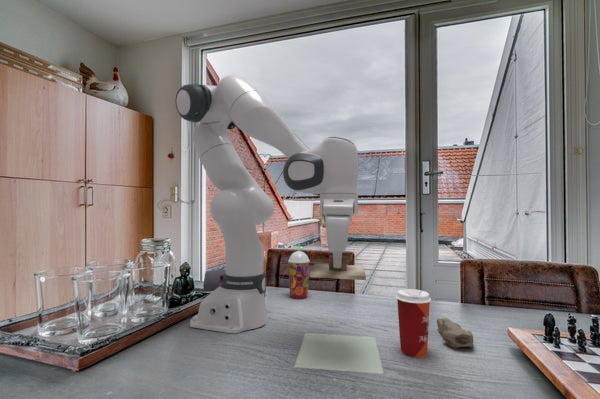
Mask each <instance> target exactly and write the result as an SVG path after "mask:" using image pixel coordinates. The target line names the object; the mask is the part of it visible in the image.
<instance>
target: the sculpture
mask: <svg viewBox="0 0 600 399" xmlns="http://www.w3.org/2000/svg"><path fill="white" fill-rule="evenodd" d="M436 326H437V329H438V331H439V333H440V334H441V338H442V340H443V341H444V342H445V343H446V344H448V346H450V347H451V348H453V349H460V348H467V347H468V348H469V349H470V348H474V336H473V333H472V331H470V330H465V329H463V328H462V326H461V325H460V324H459V323H457V322H454V321H452V320H451V319H449V318H447V317H442V318H440V317H439V318H437V319H436Z"/></svg>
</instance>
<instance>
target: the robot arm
mask: <svg viewBox="0 0 600 399" xmlns="http://www.w3.org/2000/svg"><path fill="white" fill-rule="evenodd" d="M175 108H176V110H177V113H178V115H179V116H180V117H181V118H182V119H183V120H185V121H188V122H191V123H198V124H197V125H195V126H194V128H193V129H192V132H191V133H192V134H191V138H192V142H193V145H194V148H195V151H196V154H197V156H198V159H199V161H200V163H201V165H202V167H203V169H204V171H205V173H206V174H207V177H208V179H209V180H210V182H211V183H212V185H213V186H214V187H216V188H217V189H218V190H219V192H217V193H216V194H214V196H213V197H212V199H211V201H210V214H211V216H212V219H213V220H214V221H215V222H216V223H217V225H218V227H219V229H220V231H221V234H222V238H223V242H224V247H225V270H226V272H224V273H223V275H221V276H220V277H219V278H218V279H219V280H218V281H217V282H219V281H220V286H219V287H218V288H217V289H215V290H214V291H213V292H212V293H210V294H207V296H205V297H204V298H203V299H202V301H201V302H200V304H199V308H198V313H197V314H195V315H194V316H193V317H192V318H191V319H190V321H189V327H190V328H196V329H202V330H207V331H215V332H220V333H225V334H226V333H227V334H239V333H242V332H245V331H249V330H252V329H258V328H260V327H263V326H265V325H266V324H268V322H269V320H270V318H269V316H268V311H267V306H266V299H265V293H264V292H265V273H264V271H265V268H264V261H265V260H264V256H265V255H264V253H265V252H264V249H265V247H264V245H263V244H262V242H261V240H260V238H259V234H258V230H257V226H259V225H262V224H264V223H266V222H267V221H269V220H270V219H271V218H272V217H273V215H274V211H275V203H274V201H273V199H272V198H271V197H270V196H269V195H268V194H267V193H266V192H265V191H264V190H263V189H262V187H261V186H260V184H258V182H257V181H256V180H255V178H254V177H253V176H252V175H251V173H250V172H249V171H248V169H247V168H246V167H245V165H244V162H242V160H241V158H240V156H239V154H238V152H237V150H236V149H235V147H234V145H233V143H232V141H231V140H230V137H229V135H228V130H233V129H235V128H236V127H237V128H238V129H239V130H241V132H243V133H244V134H246V135H247V136H248V137H250V138H252V139H255V140H258V141H259V142H262V143H265V144H267V145H269V146H271V147H272V148H275V149H276V150H278V151H279V152H281V153H282V154H283V155H284V156H285V157H286V158H287V159H286V162H285V163H284V166H283V170H282V175H283V176H282V177H283V181H284V183H285V185H286V186H287V187H289V189H291V190H293V191H296V192H300V193H304V194H313V195H315V196H318V197H320V198H319V213H320V214H323V215H324V220H325V232H326V244H327V249H328V251H330V252H332V255H333V267H334V268H341V261H342V256H343V252H345V251H347V245H348V238H349V231H350V223H351V222H353V216H354V215H358V212H359V210H358V209H359V191H358V187H357V182H358V178H359V155H358V154H359V153H358V148H357V146H356V144H355V143H354V142H352V141H351V140H349V139H347V138H343V137H338V136H330V137H326V138H324V139H322V140H321V142H320V143H318V144H317V145H314V147H312V148H309V146H307V145H306V143H304V142H303V141H302V140H301V139H300V137H299V136H297V135H296V133H294V131H293V130H292V129H291V128H290V127H289V126H288V125H287V123H286V122H285V120H284V119H282V117H281V116H280V115H279V113H278V112H277V111H276V109H275V108H274V107H273V105H272V104H271V103H270V101H269V100H268V99H267V97H265V95H264V94H263V93H261V92H260V90H259V89H258V88H257V87H255V86H254V85H253V84H252V83H251V82H249V81H248V80H246V79H245V78H244V77H242V76H240V75H238V74H228V75H226V76H224V77H222V78H221V79H220V80H219V81H218V84H217V85H213V84H212V85H210V84H209V85H208V84H200V83H190V84H189V83H188V84H183V85H182V86H181V87H179V89H178V91H177V93H176V96H175Z"/></svg>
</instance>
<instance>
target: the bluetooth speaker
mask: <svg viewBox="0 0 600 399" xmlns="http://www.w3.org/2000/svg"><path fill="white" fill-rule="evenodd" d="M224 272H226V269H218V270H217V269H215V270H208V271H205V272H204V280H203V287H202V288H203V292H204V291H214V290H215V289H217V288H218V287H219V286H220V281H219V282H217V281H218V280H219V279H218V278H219V277H220V276H221V275H223V273H224ZM264 273H265V292H264V294H265V293H266V291H267V270H264Z"/></svg>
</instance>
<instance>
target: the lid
mask: <svg viewBox="0 0 600 399" xmlns="http://www.w3.org/2000/svg"><path fill="white" fill-rule="evenodd" d="M328 258H329V260H328V262H329V263H314V264H313V266H312V268H311V270H310V271H309V278H317V279H319V278H320V279H334V280H335V279H336V280H337V279H339V280H340V279H341V280H354V281H355V280H357V281H366V280H367V275H366V272H365V269H364V266H363V265H354V264H353V265H352V264H350V265H349V264H348V255H342V261H341V268H334V267H333V254H330V255H329V256H328Z"/></svg>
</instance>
